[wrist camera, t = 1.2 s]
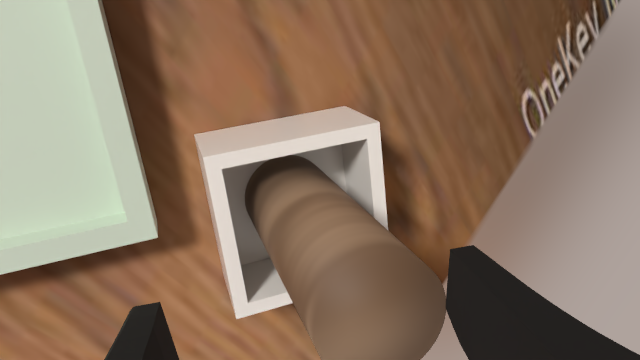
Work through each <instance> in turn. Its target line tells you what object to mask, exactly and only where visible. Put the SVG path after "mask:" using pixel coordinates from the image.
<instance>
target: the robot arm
mask: <svg viewBox="0 0 640 360" xmlns="http://www.w3.org/2000/svg"><path fill="white" fill-rule="evenodd" d="M446 310H447V312H448V315H449V318H450V320H451V323H452V325H453V328H454V330H455V332H456V335H457V337H458V340H459V342H460V344H461V346H462V348H463V350H464V352H465V353H466V355H467V357H468V359H469V360H640V355H639V354H637V353H635V352H632V351H631V350H629V349H627V348H625V347H623V346H622V345H620V344H618V343H616V342H614V341H613V340H611V339H609V338H607V337H605V336H604V335H602V334H600V333H598V332H596V331H595V330H593V329H591V328H590V327H588V326H587V325H585V324H583V323H582V322H580V321H579V320H577V319H575V318H574V317H572V316H571V315H569V314H568V313H566V312H564V311H563V310H561V309H560V308H558V307H557V306H555V305H554V304H552V303H551V302H549V301H548V300H546V299H545V298H544V297H542V296H541V295H539V294H538V293H536V292H535V291H534V290H532V289H531V288H530V287H528V286H527V285H525V284H524V283H523V282H521V281H520V280H519V279H517V278H516V277H515V276H513V275H512V274H511V273H509V272H508V271H507V270H505V269H504V268H503V267H501V266H500V265H499V264H497V263H496V262H495V261H493V260H492V259H491V258H489V257H488V256H487V255H486V254H484V253H483V252H482V251H480V250H479V249H478V248H476V247H475V246H474V245H472V246H466V247H461V248H455V249H450V259H449V271H448V283H447V296H446ZM104 360H179V358H178V355H177V352H176V349H175V346H174V343H173V340H172V337H171V334H170V331H169V328H168V325H167V322H166V319H165V316H164V313H163V310H162V307H161V304H160V302H157V303H152V304H146V305H141V306H135V307H133V308H132V309H131V311H130V312H129V314H128V316H127V318H126V320H125V322H124V324H123V326H122V328H121V330H120V332H119V334H118V336H117V337H116V339H115V341H114V343H113V345H112V347H111V348H110V350H109V352H108V354H107V356H106V358H105V359H104Z"/></svg>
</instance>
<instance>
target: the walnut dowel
mask: <svg viewBox="0 0 640 360" xmlns="http://www.w3.org/2000/svg"><path fill="white" fill-rule="evenodd" d="M245 206H246V210H247V212H248V215H249V217H250V219H251V221H252V223H253V225H254V227H255V229H256V231H257V233H258V235H259V237H260V239H261V241H262V243H263V245H264V247H265V249H266V251H267V253H268V255H269V256H270V258H271V260H272V262H273V264H274V266H275V268H276V270H277V272H278V274H279V276H280V278H281V280H282V282H283V284H284V286H285V288H286V290H287V292H288V294H289V296H290V298H291V300H292V302H293V304H294V306H295V308H296V310H297V312H298V314H299V316H300V318H301V320H302V322H303V324H304V326H305V328H306V330H307V332H308V334H309V336H310V338H311V340H312V342H313V344H314V346H315V348H316V350H317V352H318V354H319V356H320V358H321V360H420V359H421V358H422V357H423V356H424V355H425V354H426V353H427V352H428V351H429V350H430V348H431V347H432V345H433V344H434V342H435V341H436V339H437V337H438V335H439V334H440V331H441V328H442V326H443V323H444V319H445V313H446V296H445V292H444V288H443V286H442V283H441V281H440V280H439V278H438V276H437V275H436V274H435V273H434V272H433V271H432V270H431V269H430V268H429V267H428V266H427V265H426V264H425V263H424V262H423V261H421V260H420V259H419V258H418V257H417V256H416V255H415V254H414V253H413V252H411V251H410V250H409V249H408V248H407V247H406V246H405V245H404V244H403V243H401V242H400V241H399V240H398V239H397V238H396V237H395V236H394V235H393V234H391V233H390V232H389V231H388V230H387V229H386V228H385V227H384V226H383V225H381V224H380V223H379V222H378V221H377V220H376V219H375V218H374V217H373V216H371V215H370V214H369V213H368V212H367V211H366V210H365V209H364V208H363V207H361V206H360V205H359V204H358V203H357V202H356V201H355V200H354V199H353V198H351V197H350V196H349V195H348V194H347V193H346V192H345V191H344V190H343V189H341V188H340V187H339V186H338V185H337V184H336V183H335V182H334V181H333V180H331V179H330V178H329V177H328V176H327V175H326V174H325V173H324V172H323V171H321V170H320V169H319V168H318V167H317V166H316V165H315V164H314V163H312V162H311V161H309V160H308V159H306V158H303V157H300V156H296V155H287V156H283V157H278V158H273V159H270V160H268V161H266V162H265V163H263V164H262V165H261V166H260V167H258V168H257V169H256V171H255V172H254V173H253V174H252V176H251V178H250V179H249V181H248V184H247V187H246V191H245Z"/></svg>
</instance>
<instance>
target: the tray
mask: <svg viewBox="0 0 640 360" xmlns="http://www.w3.org/2000/svg"><path fill="white" fill-rule="evenodd" d="M154 238H158V230H157V218H156V214H155V210H154V206H153V202H152V198H151V194H150V190H149V186H148V182H147V178H146V174H145V170H144V166H143V162H142V158H141V154H140V150H139V147H138V143H137V139H136V135H135V131H134V127H133V123H132V119H131V115H130V111H129V107H128V103H127V99H126V95H125V91H124V87H123V83H122V79H121V75H120V71H119V67H118V63H117V59H116V55H115V51H114V47H113V43H112V39H111V35H110V31H109V27H108V23H107V19H106V15H105V11H104V7H103V3H102V0H0V275H1V274H5V273H10V272H14V271H18V270H22V269H27V268H31V267H35V266H39V265H44V264H48V263H52V262H56V261H61V260H65V259H69V258H73V257H78V256H82V255H86V254H91V253H95V252H99V251H103V250H108V249H112V248H116V247H120V246H125V245H129V244H133V243H137V242H142V241H146V240H150V239H154Z"/></svg>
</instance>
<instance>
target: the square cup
mask: <svg viewBox="0 0 640 360" xmlns="http://www.w3.org/2000/svg"><path fill="white" fill-rule="evenodd" d="M194 137H195V142H196V146H197V151H198V156H199V161H200V165H201V170H202V175H203V180H204V184H205V189H206V194H207V199H208V203H209V208H210V213H211V218H212V222H213V227H214V232H215V237H216V241H217V246H218V251H219V256H220V260H221V265H222V270H223V275H224V278H225V282H226V285H227V288H228V292H229V295H230V299H231V302H232V306H233V309H234V312H235V316H236V319H239V318H242V317H246V316H249V315H253V314H256V313H260V312H263V311H267V310H270V309H274V308H277V307H281V306H284V305H288V304H291V303H293V302H292V300H291V298H290V296H289V294H288V292H287V290H286V288H285V286H284V284H283V282H282V280H281V278H280V276H279V274H278V272H277V270H276V268H275V266H274V264H273V262H272V260H271V258H270V256H269V255H268V253H267V251H266V249H265V247H264V245H263V243H262V241H261V239H260V237H259V235H258V233H257V231H256V229H255V227H254V225H253V223H252V221H251V219H250V217H249V215H248V212H247V210H246V206H245V191H246V187H247V184H248V181H249V179H250V178H251V176H252V174H253V173H254V172H255V171H256V169H257V168H258V167H260V166H261V165H262V164H263V163H265V162H266V161H268V160H270V159H273V158H278V157H283V156H287V155H296V156H300V157H303V158H306V159H308V160H309V161H311V162H312V163H314V164H315V165H316V166H317V167H318V168H319V169H320V170H321V171H323V172H324V173H325V174H326V175H327V176H328V177H329V178H330V179H331V180H333V181H334V182H335V183H336V184H337V185H338V186H339V187H340V188H341V189H343V190H344V191H345V192H346V193H347V194H348V195H349V196H350V197H351V198H353V199H354V200H355V201H356V202H357V203H358V204H359V205H360V206H361V207H363V208H364V209H365V210H366V211H367V212H368V213H369V214H370V215H371V216H373V217H374V218H375V219H376V220H377V221H378V222H379V223H380V224H381V225H383V226H384V227H385V228H386V229H387V230H388V222H387V210H386V198H385V185H384V173H383V160H382V148H381V135H380V123H379V122H378V121H376V120H374V119H372V118H370V117H368V116H365V115H363V114H361V113H359V112H357V111H355V110H353V109H350V108H348V107H346V106H342V107H337V108H332V109H327V110H321V111H316V112H311V113H305V114H300V115H295V116H289V117H284V118H279V119H273V120H268V121H263V122H258V123H252V124H247V125H242V126H236V127H231V128H226V129H220V130H215V131H210V132H204V133H199V134H194Z"/></svg>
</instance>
